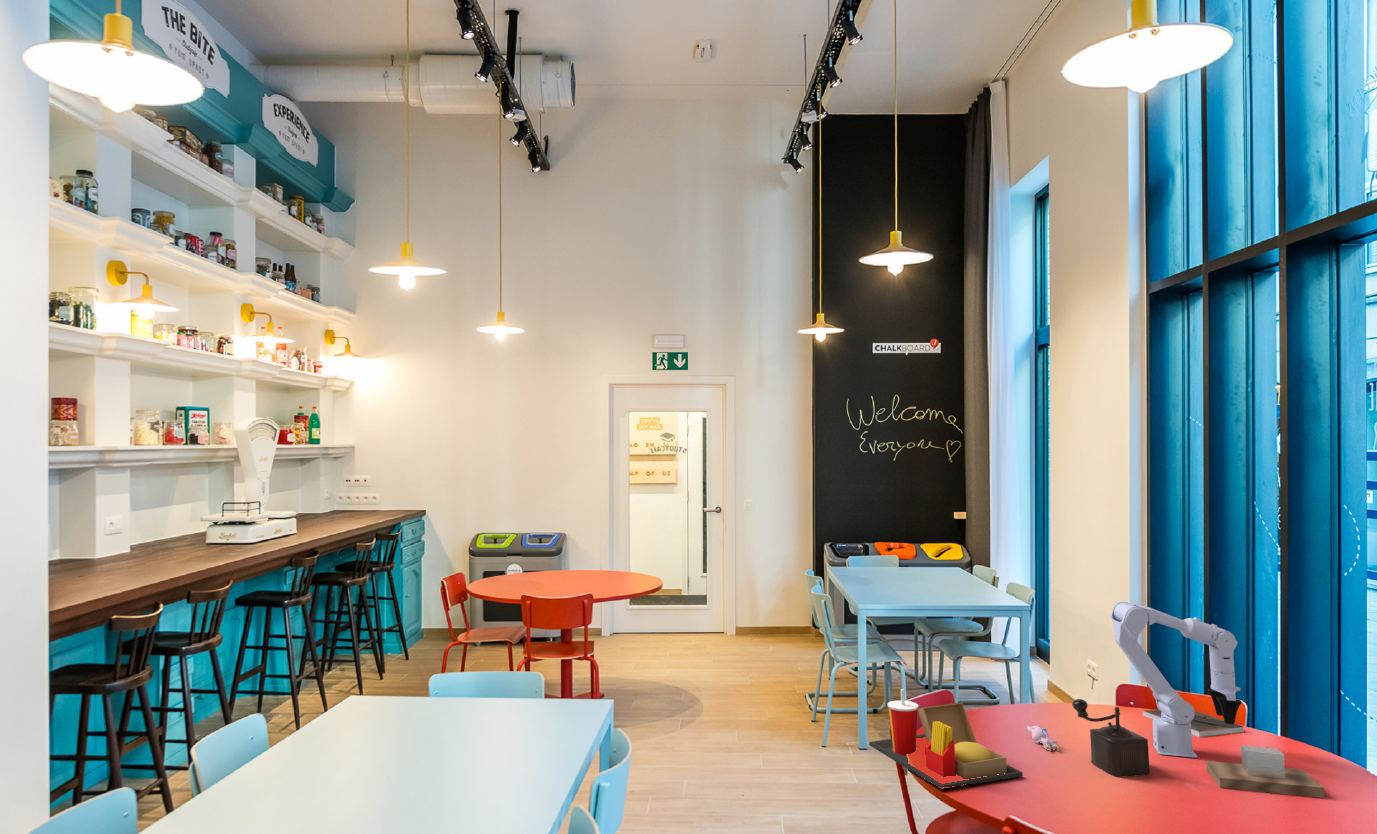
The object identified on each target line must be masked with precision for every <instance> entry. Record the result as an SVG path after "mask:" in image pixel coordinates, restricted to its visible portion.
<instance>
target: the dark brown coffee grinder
mask: <svg viewBox="0 0 1377 834" xmlns="http://www.w3.org/2000/svg"><path fill="white" fill-rule="evenodd" d="M1071 704H1072V707H1073V709H1074V710H1075V711H1076V712H1077V714H1076V715H1077V717H1078V718H1082V719H1085V720H1086V721H1089V722H1094V723H1095V722H1096V723H1097V722H1098V723H1099V722H1104V721H1108V722H1107V724H1108V725H1107V726H1102V727H1100V728H1090V729H1089V732H1090V733H1089V734H1090V736H1089V737H1090V751H1091V755H1090V756H1091V760H1090V763H1091V764H1093V765H1094V767H1096V766H1097V767H1096V768H1097V769H1099V770H1101V769H1102V771H1103V772H1105V773H1106V774H1108V775H1110V776H1113V777H1115V778H1123V777H1122V776H1127V777H1135V775H1138V776H1144V775H1143V774H1146V775H1150V774H1151V768H1150V756H1149V755H1150V754H1149V740H1148V738H1146V737H1144V736H1142V735H1141V734H1138V733H1136V732H1134V731H1132V730H1129V729H1127V728H1126V727H1124V726H1122V725H1121V724H1120V723H1121V722H1120V716H1121V712H1120V707H1119V706H1116V707H1114V712H1113V714H1111V715H1108V716H1107V715H1106V716H1104V717H1098V718H1097V717H1096V718H1092V717H1088V716H1089V713H1088V712H1087V709H1088V702H1087V701H1086V700H1085V699H1082V698H1077V699H1075V700H1073V702H1072V703H1071ZM1113 719H1115V724H1112V722H1110V721H1109V720H1113ZM1120 776H1121V777H1120Z"/></svg>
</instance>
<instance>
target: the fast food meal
mask: <svg viewBox="0 0 1377 834" xmlns="http://www.w3.org/2000/svg"><path fill="white" fill-rule="evenodd" d="M887 708H888V713H889V721H890V724H889V725H890V731H891V738H888V739H887V738H885V739H880V740H874V741H873V740H871V741H869V743H868V744H869V746H870V747H871V748H873V749H875V750H877V751H878V752H880V753H881V754H882V755H884V756H886V757H888V758H889V759H891V760H893V761H894V762H896V763H898V765H901V766H902V767H903V768H904V769H907V770H909V771H911V772H912V773H913V774H915V773H916V774H915V775H917V774H918V775H917V776H918V777H920V776H921V777H920V778H922V779H923V778H925V779H924V780H925V781H926V780H927V781H926V782H928V783H929V782H932V783H933V784H935V785H937V786H938V787H941V788H942V787H952V786H960V785H963V784H964V785H965V784H973V785H978V783H979V784H983V783H982V782H984V783H988V782H995V781H1001V780H1000V779H1002V780H1007V779H1011V778H1012V779H1013V778H1019V777H1018V776H1020V777H1023V774H1024V773H1023V772H1022V771H1021V770H1019V769H1017V768H1014V767H1013V766H1010V765H1009V764H1007V757H1006V756H1005V755H1002V754H1000V753H998V752H996V751H995V750H992V749H990V748H988V747H986V746H984V745H983V744H980V743H978V742H977V739H976V737H975V734H974V731H973V728H972V725H971V723H970V720H969V717H968V713H967V711H966V709H965V706H964V702H954V703H948V704H947V703H946V704H938V705H932V706H924V707H920V708H919V704H918V703H917V702H913V701H909V700H905V689H904V688H900V699H899V700H892V701H891V700H890V701H888V702H887ZM918 716H919V720H920V722H921V726H922V729H923V732H924V733H922V734H917V731H918V730H917V729H918V728H917V727H918V726H917V725H918ZM923 737H926V739H927V742H928V744H927V746H926V747H925V755H926V767H927V768H928V769H930V770H932V771H934V772H936V773H937V774H939V775H941V776H943V777H946V776H956V774H957V775H958V776H961V777H962V778H963V779H969V780H963V781H957V782H951V783H945V784H941V783H939V782H938V781H936V780H934V779H933V778H931V777H930V776H928V775H926V774H925V773H923V772H921V771H920V770H918V769H916V768H915V767H913V766H911V765H910V764H908V758H907V757H906V754H911V753H913V752H915V751H916V738H923ZM914 772H915V773H914ZM1004 773H1005V774H1004ZM997 774H999V775H997ZM983 776H987V777H983ZM977 777H981V778H977ZM971 778H975V779H971ZM976 783H977V784H976ZM933 784H932V785H933ZM938 787H937V788H938Z"/></svg>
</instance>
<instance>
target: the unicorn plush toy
mask: <svg viewBox="0 0 1377 834" xmlns="http://www.w3.org/2000/svg"><path fill="white" fill-rule="evenodd" d="M1026 728H1027V730H1028V732H1029V733H1030V734H1031V737H1032V740H1033V741H1034V742H1035V741H1036V744H1039V742H1041V743H1042V745H1043V748H1044V750H1045V749H1049V751H1048V752H1051V751H1052V750H1051V749H1056V752H1061V751H1060V747H1059V746H1058V744H1057V743H1058V740H1055V739H1054V740H1053V739H1052V738H1050V736H1049V733H1048V731H1047V729H1046V727H1040V726H1039V725H1032V726H1030V725H1027V726H1026Z"/></svg>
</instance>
